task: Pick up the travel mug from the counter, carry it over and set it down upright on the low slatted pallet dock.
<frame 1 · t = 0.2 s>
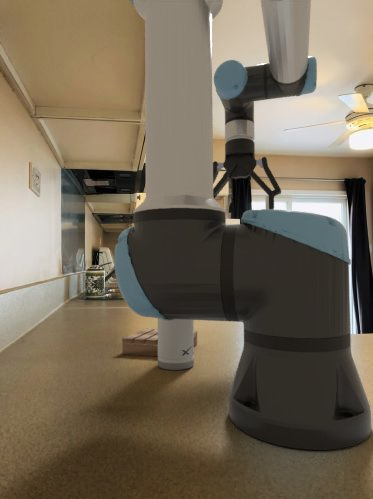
hand: (240, 224, 93), 28 cm above the worktop, fingers open, 13 cm apart
travel mug: (176, 366, 63), on the worktop
pallet dock: (161, 349, 76), on the worktop
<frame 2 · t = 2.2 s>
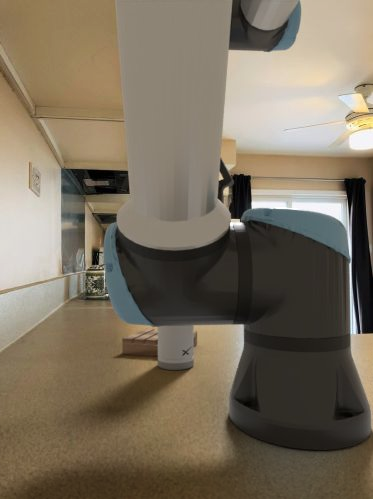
hand: (176, 229, 65), 24 cm above the worktop, fingers open, 13 cm apart
nothing on the worktop moved.
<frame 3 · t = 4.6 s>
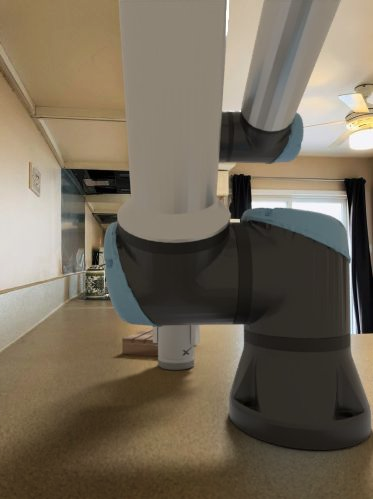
hand: (176, 342, 64), 4 cm above the worktop, fingers closed on travel mug, 6 cm apart
travel mug: (177, 366, 63), on the worktop, touching gripper
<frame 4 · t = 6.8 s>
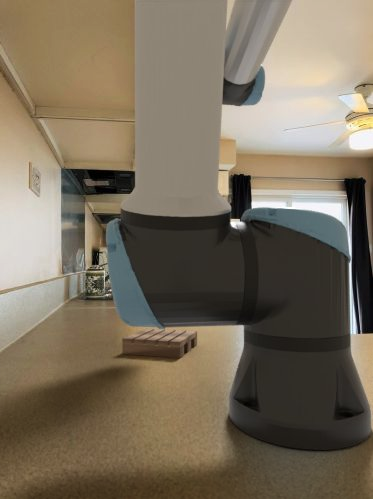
hand: (162, 256, 77), 19 cm above the worktop, fingers closed on travel mug, 6 cm apart
travel mug: (162, 276, 77), point 15 cm above the worktop, touching gripper
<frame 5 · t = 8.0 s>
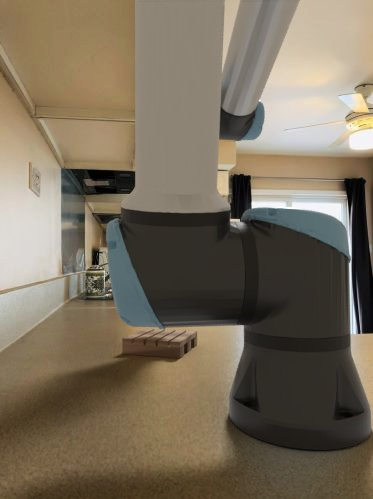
hand: (161, 289, 77), 12 cm above the worktop, fingers closed on travel mug, 6 cm apart
travel mug: (162, 309, 76), point 8 cm above the worktop, touching gripper
when the fingers open (8 cm above the worktop, at t = 9.1 s): travel mug drops 1 cm, resting on pallet dock.
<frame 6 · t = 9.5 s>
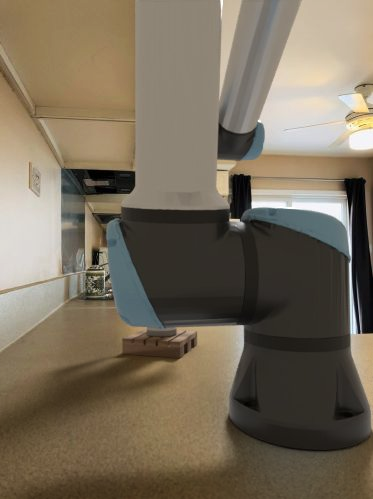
hand: (161, 301, 76), 10 cm above the worktop, fingers open, 12 cm apart
travel mug: (162, 335, 76), point 3 cm above the worktop, touching pallet dock
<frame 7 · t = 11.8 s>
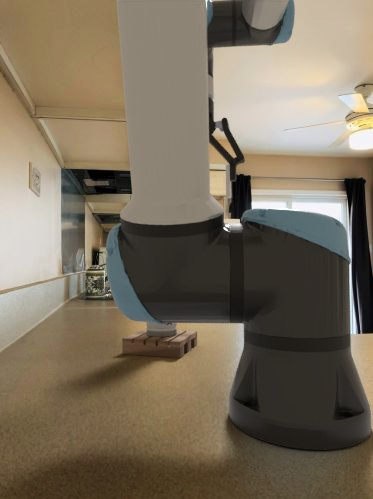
hand: (196, 199, 77), 31 cm above the worktop, fingers open, 13 cm apart
nothing on the worktop moved.
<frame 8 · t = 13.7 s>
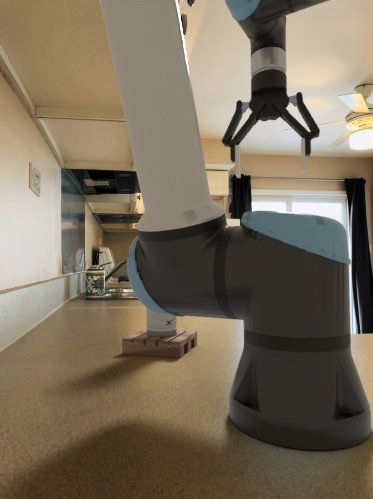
hand: (269, 174, 78), 37 cm above the worktop, fingers open, 13 cm apart
nothing on the worktop moved.
at the end: travel mug 0.2 cm from the pallet dock (horizontally); travel mug tilted 0°; travel mug touching pallet dock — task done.
